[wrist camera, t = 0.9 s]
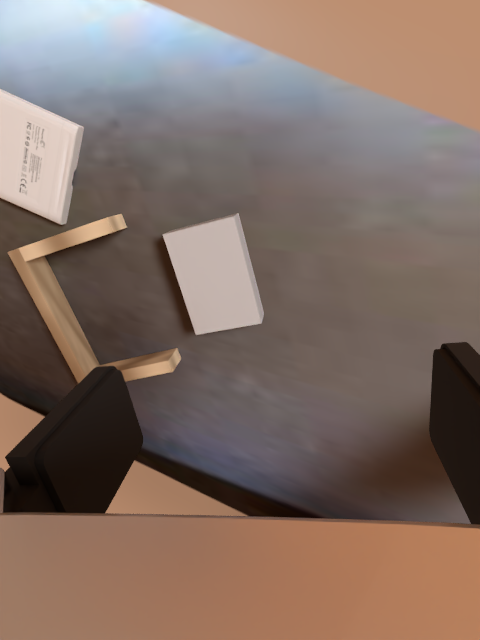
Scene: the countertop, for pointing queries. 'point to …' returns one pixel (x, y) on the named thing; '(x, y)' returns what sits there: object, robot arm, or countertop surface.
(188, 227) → the light grey slab
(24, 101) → the external hard drive
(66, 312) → the pine rack
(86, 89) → the countertop surface
